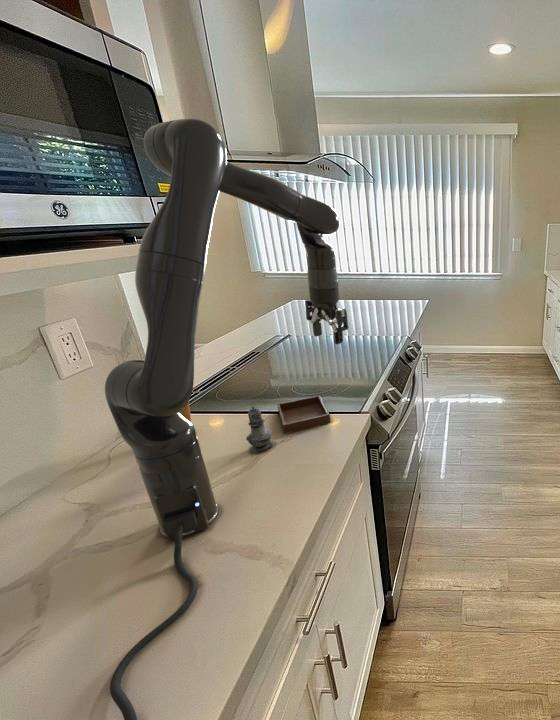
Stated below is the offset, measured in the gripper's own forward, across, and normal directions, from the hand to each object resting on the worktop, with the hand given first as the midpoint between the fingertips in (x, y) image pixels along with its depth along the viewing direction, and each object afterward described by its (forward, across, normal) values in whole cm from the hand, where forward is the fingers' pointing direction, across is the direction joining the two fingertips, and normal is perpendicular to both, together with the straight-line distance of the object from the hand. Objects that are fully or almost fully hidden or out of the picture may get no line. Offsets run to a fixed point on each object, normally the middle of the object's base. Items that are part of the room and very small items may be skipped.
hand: (328, 339), depth 112 cm
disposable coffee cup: (+25, -24, -32) cm, 47 cm away
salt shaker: (+23, +1, -24) cm, 33 cm away
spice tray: (+24, -4, -8) cm, 25 cm away
